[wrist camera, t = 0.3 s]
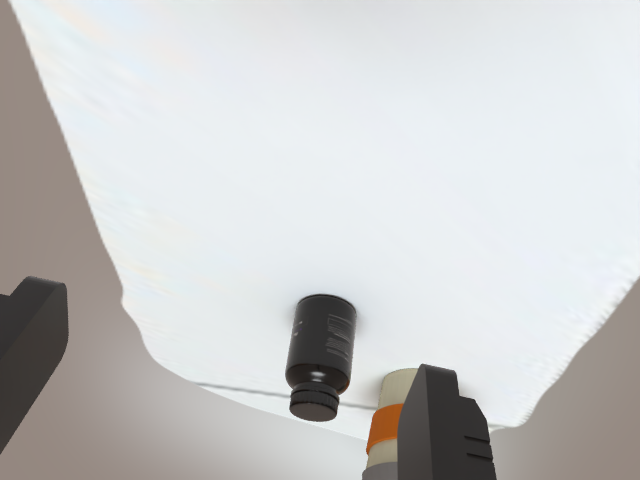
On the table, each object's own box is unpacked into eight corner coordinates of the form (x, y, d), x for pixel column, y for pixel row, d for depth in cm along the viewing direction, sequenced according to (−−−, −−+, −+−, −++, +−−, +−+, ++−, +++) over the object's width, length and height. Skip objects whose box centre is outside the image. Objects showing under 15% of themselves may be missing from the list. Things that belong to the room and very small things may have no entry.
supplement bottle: (286, 296, 66) (268, 399, 59) (345, 290, 64) (334, 396, 56) (309, 328, 71) (294, 427, 64) (364, 323, 69) (356, 425, 61)
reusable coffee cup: (359, 394, 83) (350, 509, 74) (382, 354, 74) (374, 479, 64) (447, 411, 84) (449, 526, 75) (481, 372, 74) (488, 499, 65)
